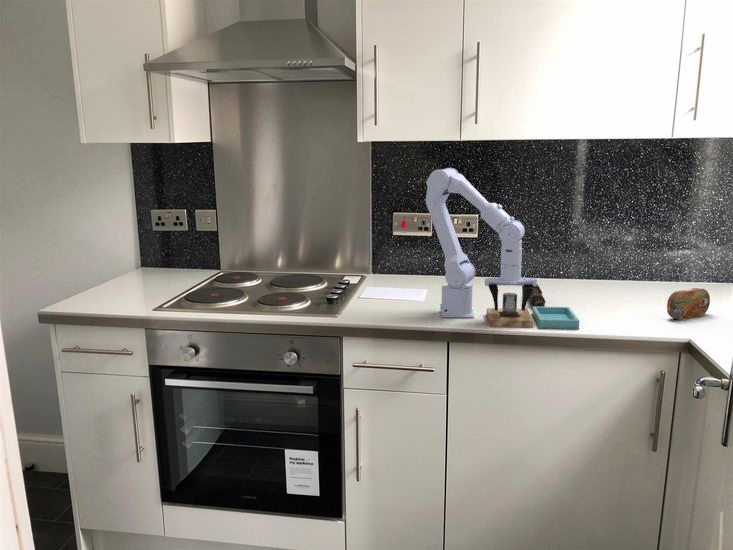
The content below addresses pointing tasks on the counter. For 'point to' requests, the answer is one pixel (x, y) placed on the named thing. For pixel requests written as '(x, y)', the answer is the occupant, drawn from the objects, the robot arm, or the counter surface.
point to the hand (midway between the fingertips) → (509, 309)
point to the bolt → (537, 297)
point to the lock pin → (509, 305)
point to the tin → (688, 303)
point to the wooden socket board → (509, 318)
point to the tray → (555, 318)
